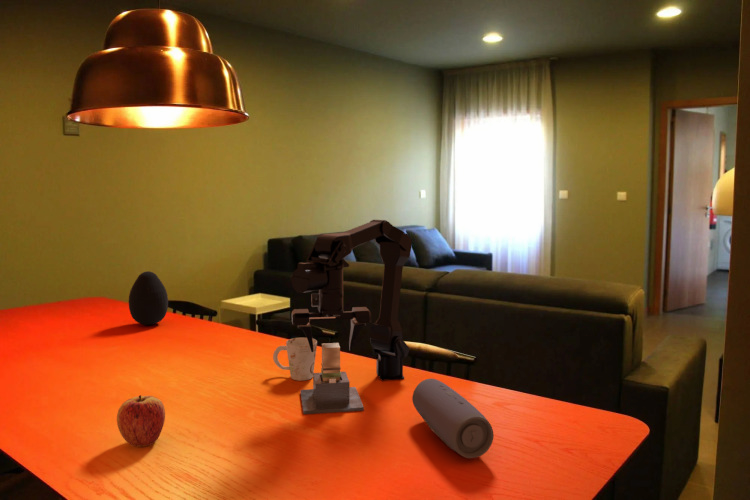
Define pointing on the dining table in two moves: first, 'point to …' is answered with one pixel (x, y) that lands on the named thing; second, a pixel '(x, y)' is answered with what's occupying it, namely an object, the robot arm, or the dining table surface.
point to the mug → (298, 358)
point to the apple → (141, 420)
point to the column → (330, 361)
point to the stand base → (330, 396)
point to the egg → (148, 299)
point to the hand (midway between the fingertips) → (331, 350)
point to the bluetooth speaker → (453, 418)
